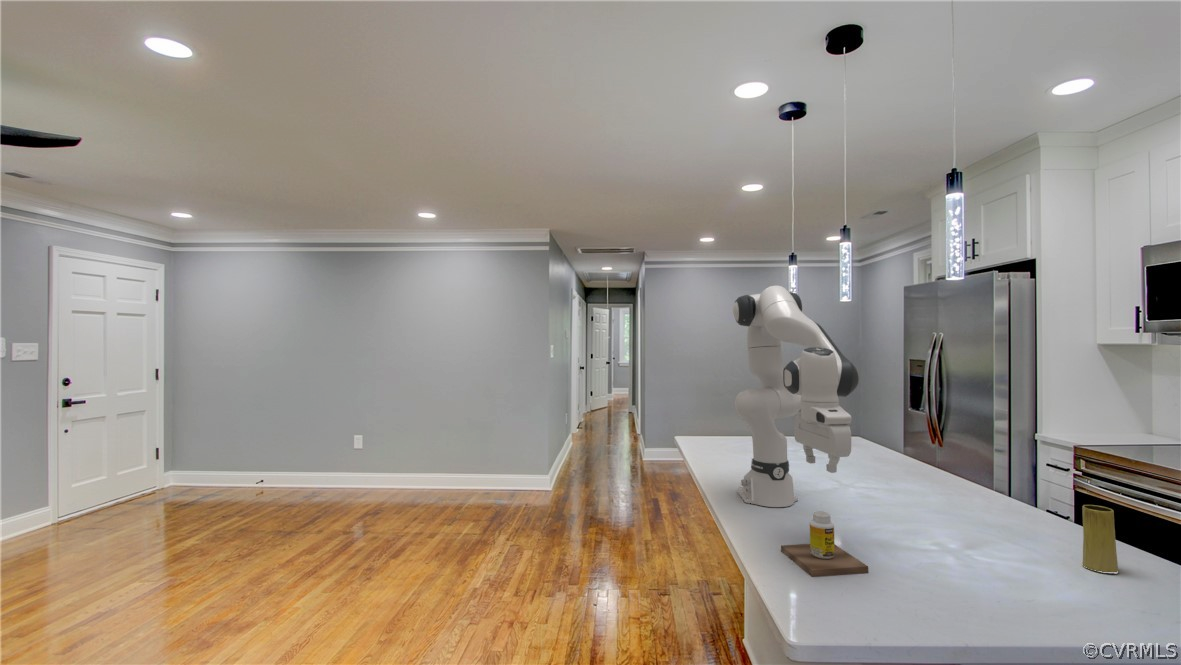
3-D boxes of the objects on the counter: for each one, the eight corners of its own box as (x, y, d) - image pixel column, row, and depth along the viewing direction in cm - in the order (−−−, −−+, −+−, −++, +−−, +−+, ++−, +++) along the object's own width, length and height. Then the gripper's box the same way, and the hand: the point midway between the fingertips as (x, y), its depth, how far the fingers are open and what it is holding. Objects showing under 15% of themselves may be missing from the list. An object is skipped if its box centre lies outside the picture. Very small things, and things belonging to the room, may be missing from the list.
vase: (1076, 566, 123) (1074, 506, 123) (1090, 561, 125) (1088, 502, 126) (1110, 577, 117) (1108, 513, 118) (1124, 571, 120) (1121, 509, 120)
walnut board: (781, 551, 135) (781, 545, 135) (831, 547, 136) (831, 542, 136) (812, 576, 120) (812, 570, 120) (868, 572, 121) (868, 566, 121)
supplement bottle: (826, 561, 124) (825, 518, 124) (805, 554, 129) (804, 513, 129) (839, 556, 127) (838, 514, 128) (818, 549, 132) (817, 508, 132)
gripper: (787, 407, 140) (788, 458, 140) (830, 418, 119) (831, 478, 119) (809, 406, 141) (810, 457, 140) (856, 417, 120) (857, 477, 120)
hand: (820, 467), depth 130 cm, fingers open, 8 cm apart
